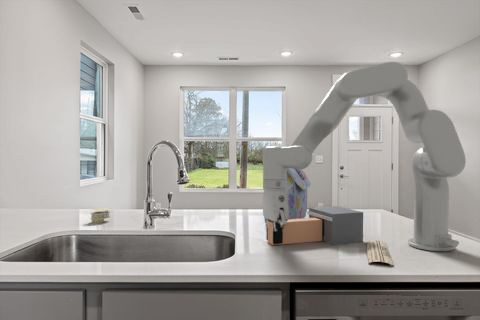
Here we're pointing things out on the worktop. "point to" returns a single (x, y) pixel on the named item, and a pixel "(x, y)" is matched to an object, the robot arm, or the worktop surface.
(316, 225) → the orange rectangular block
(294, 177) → the lunch bag
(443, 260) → the worktop surface
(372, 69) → the robot arm
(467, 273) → the worktop surface
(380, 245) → the newspaper
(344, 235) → the grey box
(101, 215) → the pale yellow grooved block
